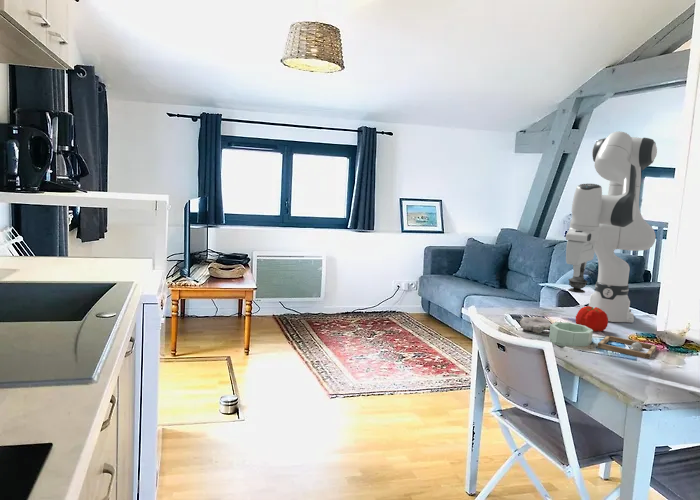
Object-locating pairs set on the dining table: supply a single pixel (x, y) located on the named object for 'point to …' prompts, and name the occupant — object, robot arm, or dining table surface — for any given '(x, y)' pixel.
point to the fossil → (535, 324)
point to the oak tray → (647, 355)
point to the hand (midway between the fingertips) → (578, 275)
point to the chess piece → (578, 281)
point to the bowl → (570, 334)
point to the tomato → (592, 318)
